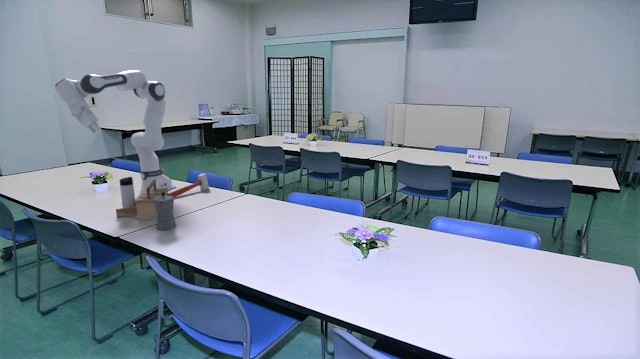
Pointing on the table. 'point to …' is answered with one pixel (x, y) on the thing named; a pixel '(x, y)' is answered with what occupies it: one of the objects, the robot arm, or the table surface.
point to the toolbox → (143, 204)
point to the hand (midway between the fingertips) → (97, 131)
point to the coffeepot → (164, 212)
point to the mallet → (192, 186)
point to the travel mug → (127, 192)
